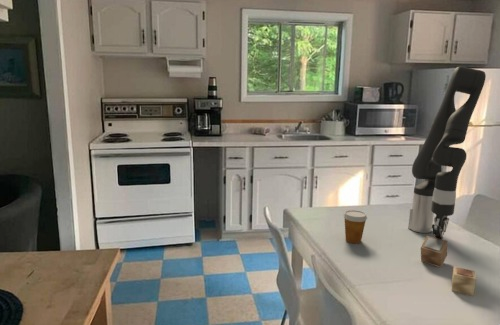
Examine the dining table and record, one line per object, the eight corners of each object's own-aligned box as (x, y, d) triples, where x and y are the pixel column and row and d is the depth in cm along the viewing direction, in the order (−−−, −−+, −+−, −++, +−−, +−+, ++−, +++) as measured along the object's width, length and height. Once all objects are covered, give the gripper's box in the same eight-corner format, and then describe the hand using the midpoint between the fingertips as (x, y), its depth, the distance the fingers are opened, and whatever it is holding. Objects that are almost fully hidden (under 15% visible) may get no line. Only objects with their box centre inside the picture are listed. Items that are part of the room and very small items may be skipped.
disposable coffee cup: (366, 238, 160) (368, 211, 158) (363, 246, 152) (365, 218, 149) (344, 234, 164) (346, 208, 162) (339, 242, 155) (341, 214, 153)
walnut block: (421, 261, 140) (420, 247, 136) (427, 249, 144) (427, 235, 141) (441, 267, 135) (441, 253, 132) (447, 255, 140) (447, 240, 136)
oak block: (451, 291, 119) (454, 273, 118) (451, 283, 125) (453, 265, 123) (473, 296, 117) (476, 278, 116) (472, 287, 122) (474, 270, 121)
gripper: (438, 194, 145) (433, 236, 148) (426, 202, 135) (421, 247, 139) (459, 199, 140) (453, 242, 143) (449, 207, 130) (443, 253, 134)
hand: (438, 244), depth 141 cm, fingers closed
